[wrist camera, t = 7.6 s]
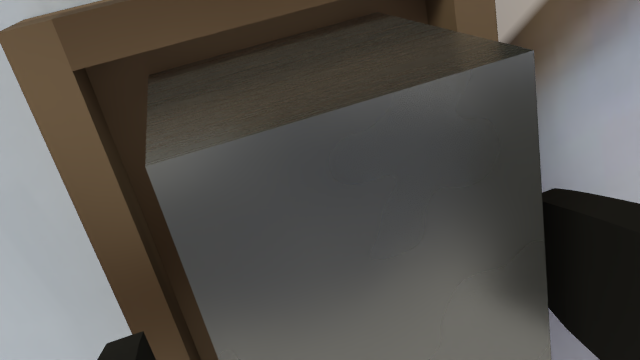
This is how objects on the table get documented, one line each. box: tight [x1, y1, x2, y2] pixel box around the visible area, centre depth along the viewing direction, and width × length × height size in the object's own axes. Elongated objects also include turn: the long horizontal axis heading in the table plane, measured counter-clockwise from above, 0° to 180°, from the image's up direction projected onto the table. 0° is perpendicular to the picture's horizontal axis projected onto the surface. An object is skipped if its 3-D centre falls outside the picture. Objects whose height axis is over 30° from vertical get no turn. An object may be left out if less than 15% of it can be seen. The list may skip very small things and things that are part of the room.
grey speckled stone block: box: [145, 12, 551, 360], centre depth 10 cm, size 4×8×5 cm, turn 13°
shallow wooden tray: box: [0, 0, 498, 360], centre depth 12 cm, size 12×8×2 cm
